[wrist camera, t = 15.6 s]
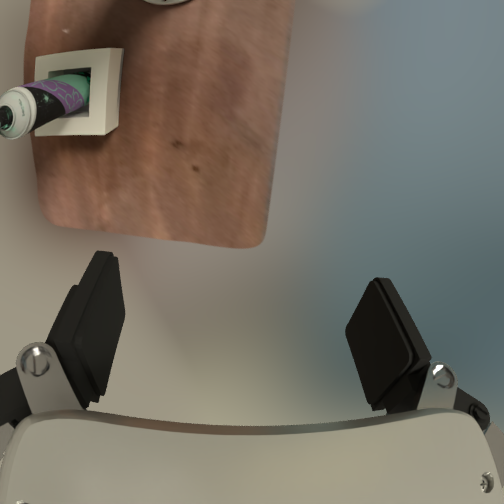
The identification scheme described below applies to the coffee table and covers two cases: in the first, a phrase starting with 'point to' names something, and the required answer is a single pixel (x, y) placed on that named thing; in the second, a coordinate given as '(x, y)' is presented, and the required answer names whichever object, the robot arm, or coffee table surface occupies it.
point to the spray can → (42, 102)
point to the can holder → (101, 90)
